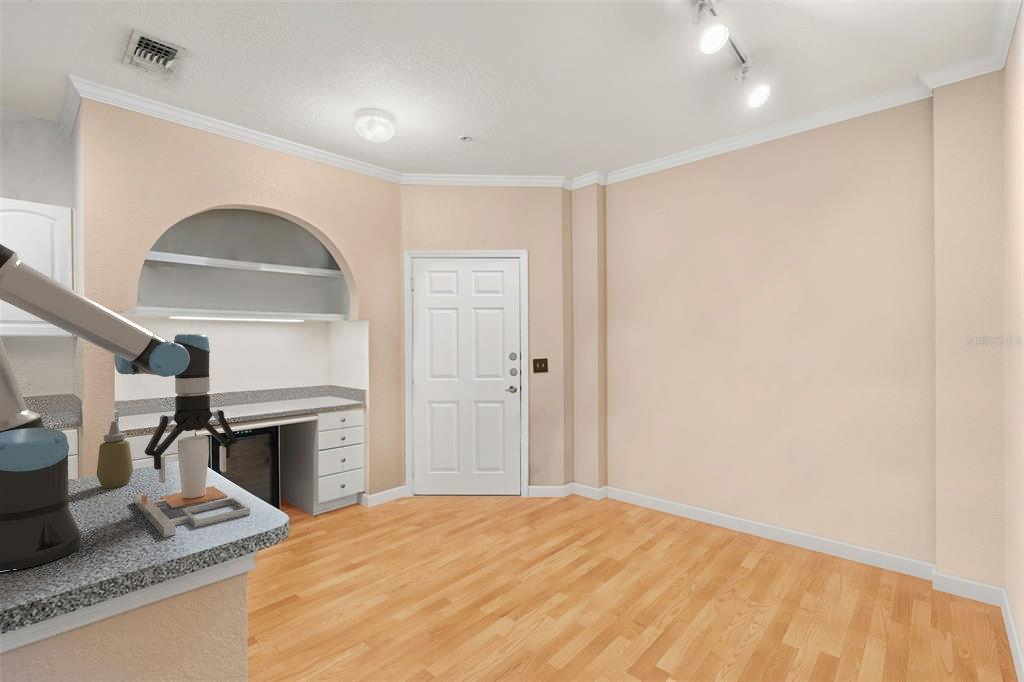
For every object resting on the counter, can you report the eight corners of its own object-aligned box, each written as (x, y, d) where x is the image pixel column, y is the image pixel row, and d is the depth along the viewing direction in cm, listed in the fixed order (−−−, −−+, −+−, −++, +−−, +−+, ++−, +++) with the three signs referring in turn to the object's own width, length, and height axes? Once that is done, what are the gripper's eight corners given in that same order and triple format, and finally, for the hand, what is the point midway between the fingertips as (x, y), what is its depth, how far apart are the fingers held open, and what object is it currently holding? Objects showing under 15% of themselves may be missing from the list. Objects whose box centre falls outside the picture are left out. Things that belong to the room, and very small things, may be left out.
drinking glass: (206, 498, 128) (206, 439, 127) (175, 501, 125) (174, 441, 125) (211, 490, 134) (210, 434, 134) (181, 493, 131) (180, 436, 131)
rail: (254, 515, 116) (254, 502, 116) (164, 537, 104) (163, 523, 104) (212, 486, 139) (211, 476, 139) (133, 502, 126) (133, 490, 126)
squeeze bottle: (138, 484, 142) (137, 420, 142) (103, 491, 135) (102, 425, 135) (126, 479, 146) (125, 418, 146) (91, 486, 139) (90, 422, 139)
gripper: (240, 389, 141) (241, 464, 141) (129, 397, 123) (130, 483, 123) (249, 391, 136) (250, 469, 136) (135, 399, 118) (137, 490, 118)
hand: (193, 476), depth 129 cm, fingers open, 13 cm apart
